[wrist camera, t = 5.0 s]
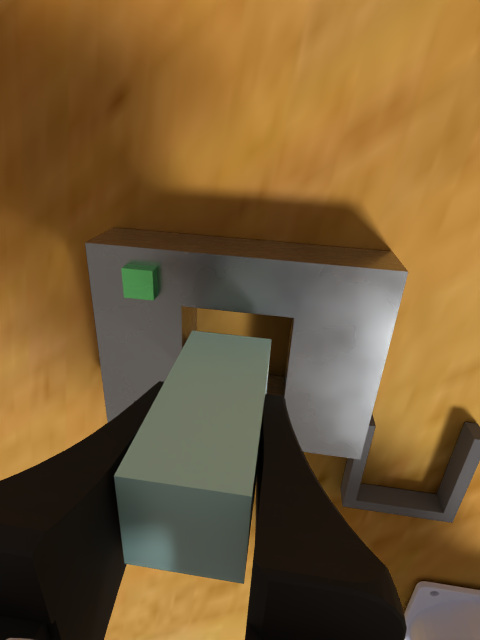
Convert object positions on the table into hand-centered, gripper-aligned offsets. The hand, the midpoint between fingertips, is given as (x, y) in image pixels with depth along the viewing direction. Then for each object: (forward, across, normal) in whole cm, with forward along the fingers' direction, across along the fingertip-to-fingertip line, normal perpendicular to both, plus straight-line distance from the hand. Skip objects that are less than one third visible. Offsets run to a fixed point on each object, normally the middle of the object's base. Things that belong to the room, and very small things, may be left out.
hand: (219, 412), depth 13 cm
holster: (+6, -9, +6) cm, 13 cm away
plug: (+2, 0, 0) cm, 2 cm away
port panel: (+6, 0, 0) cm, 6 cm away
